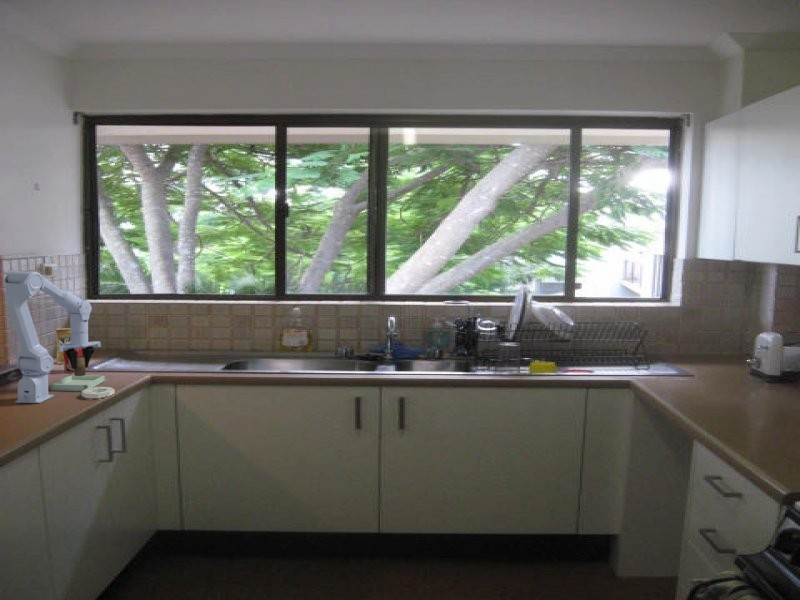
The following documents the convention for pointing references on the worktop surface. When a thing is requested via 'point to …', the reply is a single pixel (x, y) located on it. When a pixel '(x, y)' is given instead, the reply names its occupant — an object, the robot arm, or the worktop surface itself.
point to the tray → (76, 383)
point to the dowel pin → (80, 366)
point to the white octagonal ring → (98, 392)
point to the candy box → (62, 342)
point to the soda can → (67, 363)
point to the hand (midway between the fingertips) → (79, 368)
